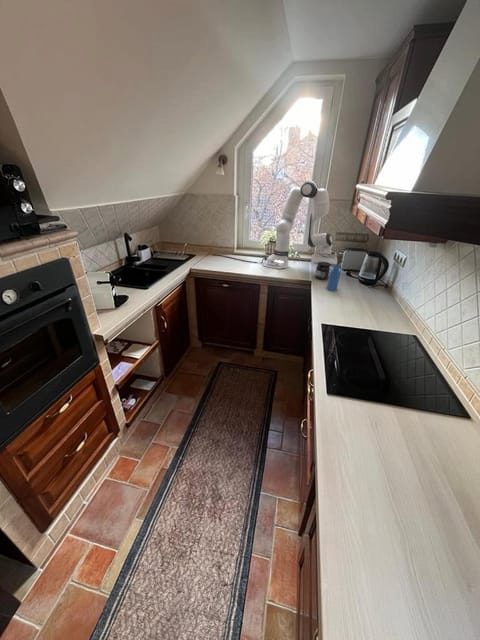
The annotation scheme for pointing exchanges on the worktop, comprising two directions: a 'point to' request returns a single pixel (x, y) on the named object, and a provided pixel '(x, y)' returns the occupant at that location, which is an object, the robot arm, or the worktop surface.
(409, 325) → the worktop surface
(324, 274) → the supplement container
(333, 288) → the blue bottle
